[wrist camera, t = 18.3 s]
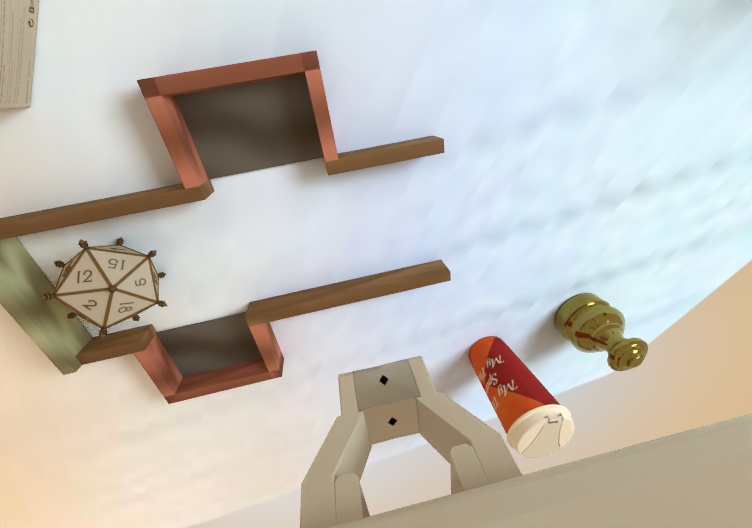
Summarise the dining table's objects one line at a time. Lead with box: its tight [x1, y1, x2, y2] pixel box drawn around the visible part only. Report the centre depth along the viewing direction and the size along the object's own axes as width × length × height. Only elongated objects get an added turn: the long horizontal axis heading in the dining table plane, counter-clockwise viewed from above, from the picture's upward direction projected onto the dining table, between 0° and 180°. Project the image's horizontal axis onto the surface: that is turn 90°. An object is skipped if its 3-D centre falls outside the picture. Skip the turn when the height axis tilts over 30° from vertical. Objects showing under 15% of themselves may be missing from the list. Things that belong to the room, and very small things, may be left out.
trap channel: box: [0, 51, 451, 404], centre depth 32 cm, size 32×42×4 cm
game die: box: [38, 238, 167, 339], centre depth 29 cm, size 9×8×10 cm
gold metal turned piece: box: [555, 293, 648, 371], centre depth 43 cm, size 7×7×10 cm
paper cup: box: [469, 336, 575, 458], centre depth 41 cm, size 8×8×14 cm
